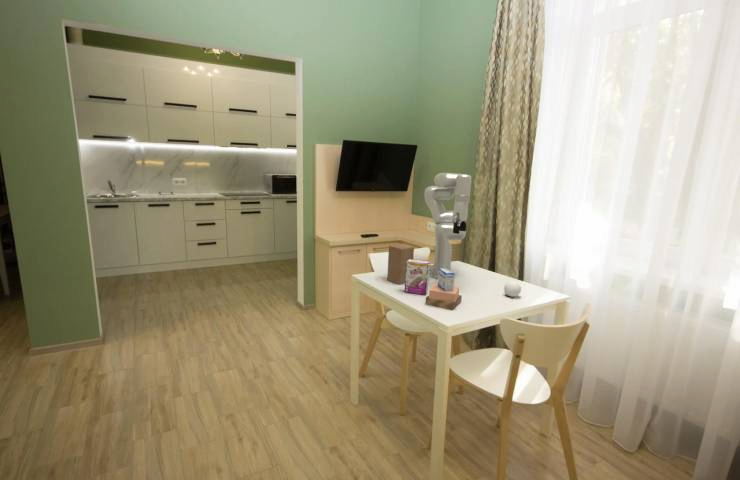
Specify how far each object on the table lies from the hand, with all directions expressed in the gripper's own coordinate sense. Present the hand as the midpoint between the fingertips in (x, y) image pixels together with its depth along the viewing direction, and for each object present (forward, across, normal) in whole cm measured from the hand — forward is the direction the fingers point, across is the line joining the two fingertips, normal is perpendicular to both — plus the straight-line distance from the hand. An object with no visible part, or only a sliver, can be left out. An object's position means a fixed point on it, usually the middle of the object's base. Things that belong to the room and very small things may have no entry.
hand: (459, 232), depth 196 cm
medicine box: (+23, +25, +4) cm, 35 cm away
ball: (+31, -6, +28) cm, 42 cm away
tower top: (+27, +25, +4) cm, 37 cm away
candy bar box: (+31, +20, -13) cm, 39 cm away
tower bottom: (+31, +25, +4) cm, 40 cm away
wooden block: (+31, +8, -29) cm, 43 cm away
